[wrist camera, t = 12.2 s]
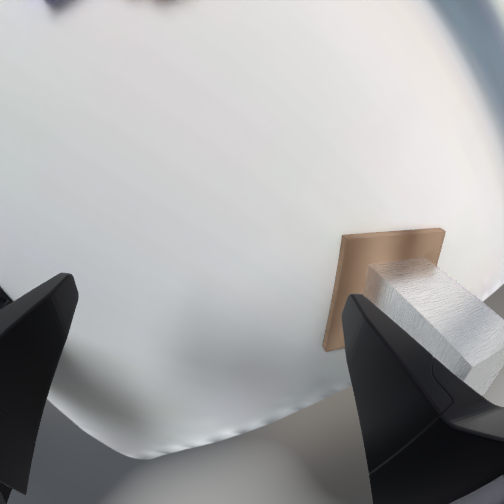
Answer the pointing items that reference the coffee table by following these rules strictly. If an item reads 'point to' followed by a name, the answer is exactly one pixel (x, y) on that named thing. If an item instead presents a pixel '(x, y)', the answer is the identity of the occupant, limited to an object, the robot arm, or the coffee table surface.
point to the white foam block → (440, 317)
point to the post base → (372, 252)
